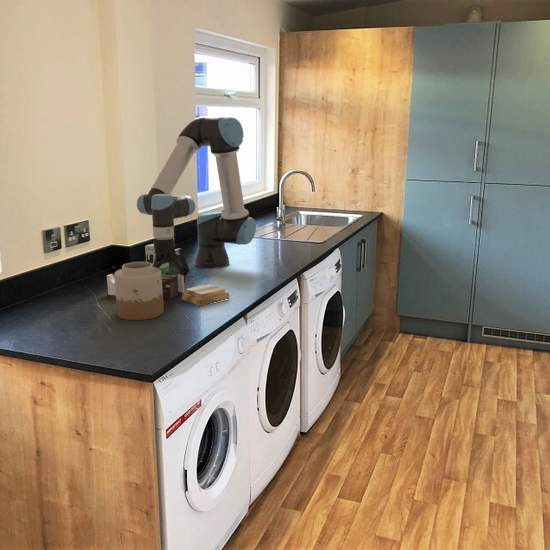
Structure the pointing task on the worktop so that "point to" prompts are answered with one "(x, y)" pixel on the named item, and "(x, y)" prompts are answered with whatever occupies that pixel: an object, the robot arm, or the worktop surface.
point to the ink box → (151, 250)
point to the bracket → (111, 284)
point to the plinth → (206, 300)
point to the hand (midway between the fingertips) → (167, 295)
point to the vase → (139, 291)
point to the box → (169, 286)
